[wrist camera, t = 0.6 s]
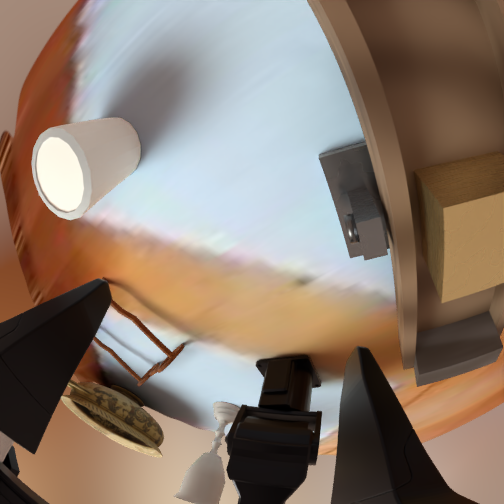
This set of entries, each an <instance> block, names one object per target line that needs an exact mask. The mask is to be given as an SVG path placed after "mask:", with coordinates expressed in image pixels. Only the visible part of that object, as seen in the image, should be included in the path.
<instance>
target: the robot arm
mask: <svg viewBox="0 0 504 504" xmlns="http://www.w3.org/2000/svg"><path fill="white" fill-rule="evenodd" d="M111 301H112V296H111V292H110V288H109V284H108V282H107V281H105V280H102V279H99V278H98V279H95V280H93V281H91V282H88V283H86V284H84V285H82V286H79V287H77V288H75V289H73V290H71V291H68V292H66V293H64V294H62V295H60V296H57V297H55V298H53V299H51V300H49V301H47V302H44V303H42V304H40V305H38V306H36V307H34V308H32V309H30V310H28V311H26V312H24V313H21V314H19V315H17V316H15V317H13V318H11V319H9V320H6V321H4V322H2V323H0V504H49V503H48V502H46V501H45V500H44V499H42V498H41V497H40V496H38V495H37V494H36V493H35V492H34V491H32V490H31V489H30V488H29V487H28V486H27V485H25V484H24V483H23V482H22V481H21V480H20V479H18V478H17V476H18V474H19V472H20V471H19V467H18V463H17V459H16V454H15V449H14V447H13V446H12V444H13V443H14V442H16V443H17V444H19V445H20V446H22V447H23V448H25V449H26V450H28V451H29V452H31V453H32V454H35V453H36V451H37V448H38V446H39V444H40V441H41V439H42V437H43V434H44V432H45V430H46V428H47V426H48V423H49V421H50V419H51V417H52V415H53V413H54V411H55V409H56V406H57V404H58V402H59V400H60V398H61V396H62V395H63V392H64V390H65V389H66V387H67V385H68V383H69V381H70V379H71V377H72V375H73V374H74V372H75V370H76V368H77V366H78V365H79V363H80V361H81V359H82V357H83V356H84V354H85V352H86V350H87V349H88V347H89V345H90V344H91V342H92V340H93V338H94V337H95V335H96V333H97V331H98V329H99V327H100V325H101V322H102V320H103V318H104V316H105V314H106V312H107V310H108V308H109V306H110V304H111ZM256 367H257V368H258V370H259V371H260V373H261V374H262V375H263V377H264V382H263V386H262V391H261V396H260V400H259V404H258V407H252V406H247V405H242V406H241V408H240V410H239V411H238V413H237V415H236V418H235V420H234V422H233V424H232V427H231V429H230V431H229V433H228V434H227V436H226V438H225V442H226V443H227V452H228V455H229V456H230V459H229V462H228V466H227V473H228V477H229V479H230V480H232V481H233V483H234V486H235V488H236V490H237V493H238V495H239V500H238V504H285V502H286V500H287V499H288V498H289V497H290V496H291V495H292V494H293V493H294V492H295V491H296V490H297V489H298V488H299V486H300V485H301V484H302V483H303V482H304V481H305V479H306V476H307V470H308V465H316V461H317V455H318V448H319V440H320V429H321V417H322V411H317V412H309V411H310V402H311V393H312V388H316V387H320V386H321V381H320V379H319V377H318V374H317V372H316V370H315V368H314V365H313V363H312V361H311V359H310V357H309V356H298V357H290V358H281V359H271V360H260V361H257V362H256ZM313 431H314V432H313ZM331 504H478V503H477V502H474V501H472V500H470V499H467V498H466V497H464V496H461V495H459V494H457V493H456V492H454V491H453V490H452V489H451V488H450V487H449V486H448V485H447V483H446V482H445V480H444V479H443V477H442V476H441V474H440V473H439V471H438V470H437V468H436V466H435V465H434V463H433V462H432V460H431V459H430V457H429V455H428V454H427V452H426V450H425V449H424V447H423V445H422V443H421V442H420V440H419V438H418V436H417V434H416V432H415V430H414V429H413V427H412V425H411V423H410V421H409V419H408V417H407V415H406V413H405V412H404V410H403V408H402V406H401V404H400V402H399V401H398V399H397V397H396V395H395V393H394V392H393V390H392V388H391V386H390V384H389V383H388V381H387V379H386V377H385V376H384V374H383V372H382V370H381V369H380V367H379V365H378V364H377V362H376V360H375V358H374V357H373V355H372V353H371V352H370V350H369V349H368V348H366V347H361V346H357V347H356V348H355V349H354V351H353V352H352V354H351V355H350V357H349V359H348V360H347V363H346V367H345V375H344V382H343V389H342V395H341V402H340V413H339V431H338V444H337V456H336V466H335V475H334V483H333V492H332V498H331Z"/></svg>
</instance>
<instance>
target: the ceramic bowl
mask: <svg viewBox="0 0 504 504" xmlns="http://www.w3.org/2000/svg"><path fill="white" fill-rule="evenodd" d="M68 386H69V387H71V388H72V390H71V393H70V395H62V396H61V400H62V401H63V403H64V404H65V405H66V406H67V407H68V408H69V409H70V410H71V411H72V412H73V413H74V414H76V415H77V416H78V417H79V418H81V419H82V420H83V421H84V422H86V423H87V424H89V425H90V426H92V427H93V428H94V429H96V430H98V431H100V432H101V433H102V434H104V435H106V436H107V437H109V438H110V439H112V440H114V441H116V442H117V443H119V444H121V445H123V446H126V447H128V448H130V449H133V450H136V451H139V452H141V453H145V454H147V455H150V456H154V457H162V454H161V451H160V450H159V448H158V447H159V446H160V445H161V444H162V442H163V439H164V435H163V431H162V429H161V427H160V426H159V424H158V423H157V422H156V421H155V420H154V419H153V418H152V417H151V416H150V415H149V414H148V413H147V412H146V411H145V410H144V409H143V408H141V407H143V406H144V403H143V402H142V401H141V399H139V398H138V397H137V396H136V395H134V394H133V393H131V392H130V391H128V390H126V389H124V388H122V387H119V386H117V385H112V386H111V389H110V388H108V387H105V386H102V385H98V384H95V383H90V382H80V383H76V382H74V381H72V380H70V381H69V383H68Z"/></svg>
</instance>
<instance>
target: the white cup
mask: <svg viewBox="0 0 504 504" xmlns="http://www.w3.org/2000/svg"><path fill="white" fill-rule="evenodd" d="M140 158H141V144H140V141H139V137H138V134H137V132H136V131H135V129H134V128H133V127H132V125H131V124H130V123H129V122H127V121H125V120H124V119H122V118H113V117H110V118H103V119H96V120H89V121H83V122H77V123H72V124H67V125H62V126H57V127H52V128H49V129H47V130H46V131H45V132H43V133H42V134H41V135H40V136H39V138H38V140H37V142H36V144H35V146H34V149H33V156H32V170H33V178H34V182H35V184H36V187H37V190H38V192H39V195H40V197H41V198H42V200H43V201H44V203H45V204H46V205H47V207H48V208H49V209H50V210H51V211H52V212H54V213H55V214H56V215H57V216H58V217H61V218H64V219H68V220H73V219H76V218H80V217H81V216H82V215H83V214H85V213H86V212H87V211H88V210H89V209H90V208H91V207H92V206H93V205H95V204H96V203H97V202H98V201H99V200H100V199H102V198H103V197H104V196H105V195H106V194H107V193H109V192H110V191H111V190H112V189H113V188H115V187H116V186H117V185H118V184H120V183H121V182H122V181H123V180H125V179H126V178H127V177H128V176H129V175H130V174H131V173H132V172H133V171H134V170H135V169H136V168H137V166H138V163H139V161H140Z"/></svg>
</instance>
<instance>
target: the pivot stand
mask: <svg viewBox="0 0 504 504" xmlns="http://www.w3.org/2000/svg"><path fill="white" fill-rule="evenodd" d="M319 160H320V163H321V165H322V168H323V171H324V174H325V177H326V180H327V183H328V186H329V189H330V192H331V195H332V198H333V201H334V204H335V207H336V211H337V214H338V217H339V220H340V224H341V227H342V231H343V234H344V238H345V241H346V245H347V248H348V252H349V256H350V258H353V257H357V256H361V255H364V260H369V259H373V258H377V257H381V256H385V255H388V253H387V249H389V248H390V246H389V240H388V234H387V228H386V223H385V218H384V213H383V208H382V203H381V198H380V194H379V189H378V185H377V181H376V177H375V173H374V169H373V165H372V161H371V158H370V154H369V151H368V147H367V144H366V142H362V143H358V144H355V145H351V146H347V147H344V148H340V149H337V150H333V151H330V152H327V153H323V154H320V155H319Z"/></svg>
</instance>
